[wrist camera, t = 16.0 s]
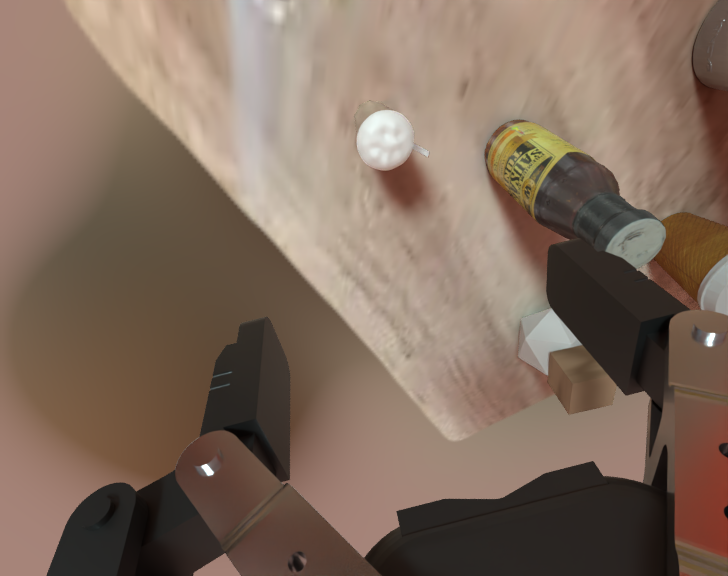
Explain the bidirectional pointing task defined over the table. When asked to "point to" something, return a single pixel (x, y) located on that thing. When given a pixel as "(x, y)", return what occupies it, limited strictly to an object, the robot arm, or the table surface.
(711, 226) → the disposable coffee cup
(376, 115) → the milkshake
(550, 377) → the walnut cube
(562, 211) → the sauce bottle
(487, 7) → the table surface
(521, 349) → the die
